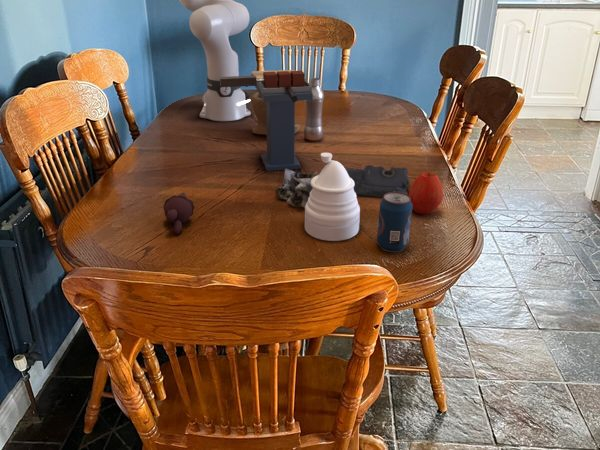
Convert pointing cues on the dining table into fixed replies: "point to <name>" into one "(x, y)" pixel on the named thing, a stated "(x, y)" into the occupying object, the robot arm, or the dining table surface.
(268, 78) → the beef skewer
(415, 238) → the dining table surface
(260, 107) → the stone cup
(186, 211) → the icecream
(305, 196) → the foil
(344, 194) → the honey pot
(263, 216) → the dining table surface
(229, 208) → the dining table surface
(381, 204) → the soda can
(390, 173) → the dark slate chunk
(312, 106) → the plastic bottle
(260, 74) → the cutting board
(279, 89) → the steel pan
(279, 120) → the stand
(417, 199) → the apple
